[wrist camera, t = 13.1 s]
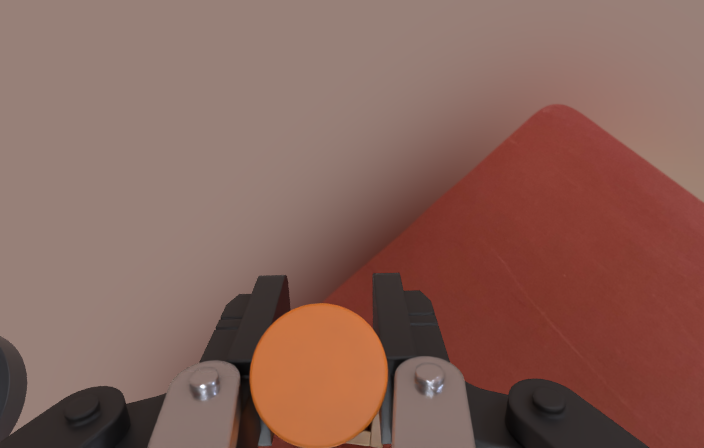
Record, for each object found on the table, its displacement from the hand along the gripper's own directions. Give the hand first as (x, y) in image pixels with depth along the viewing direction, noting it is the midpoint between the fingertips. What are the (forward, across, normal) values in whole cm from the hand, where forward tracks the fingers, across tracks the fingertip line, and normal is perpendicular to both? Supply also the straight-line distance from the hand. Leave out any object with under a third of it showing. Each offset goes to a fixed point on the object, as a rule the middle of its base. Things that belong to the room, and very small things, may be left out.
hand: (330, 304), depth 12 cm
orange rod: (+7, 0, +10) cm, 12 cm away
